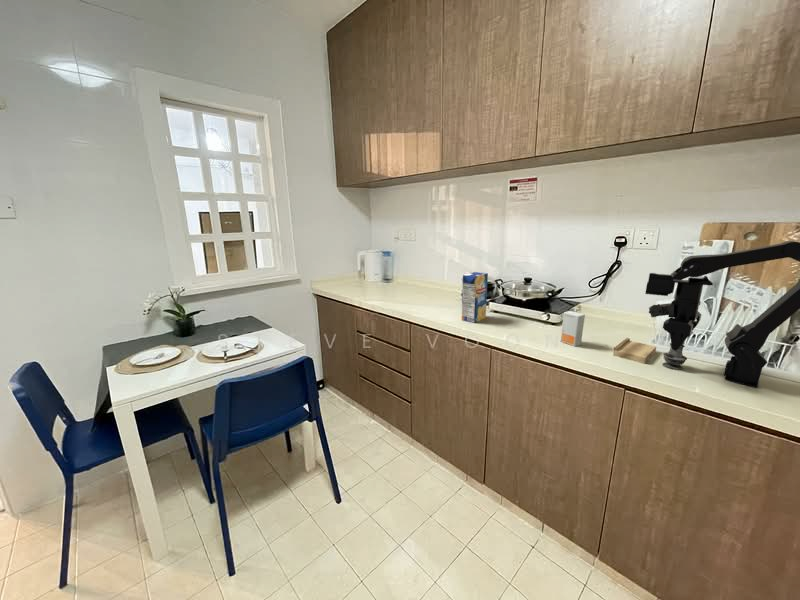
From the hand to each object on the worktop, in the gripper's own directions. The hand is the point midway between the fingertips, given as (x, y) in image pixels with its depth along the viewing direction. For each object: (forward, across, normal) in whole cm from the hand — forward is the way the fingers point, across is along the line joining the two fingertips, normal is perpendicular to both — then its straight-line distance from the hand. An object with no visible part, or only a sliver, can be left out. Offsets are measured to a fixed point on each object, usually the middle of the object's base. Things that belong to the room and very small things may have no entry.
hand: (677, 346), depth 99 cm
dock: (+7, -3, -11) cm, 14 cm away
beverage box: (+7, +5, -74) cm, 75 cm away
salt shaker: (+7, 0, 0) cm, 7 cm away
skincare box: (+7, +3, -30) cm, 31 cm away
